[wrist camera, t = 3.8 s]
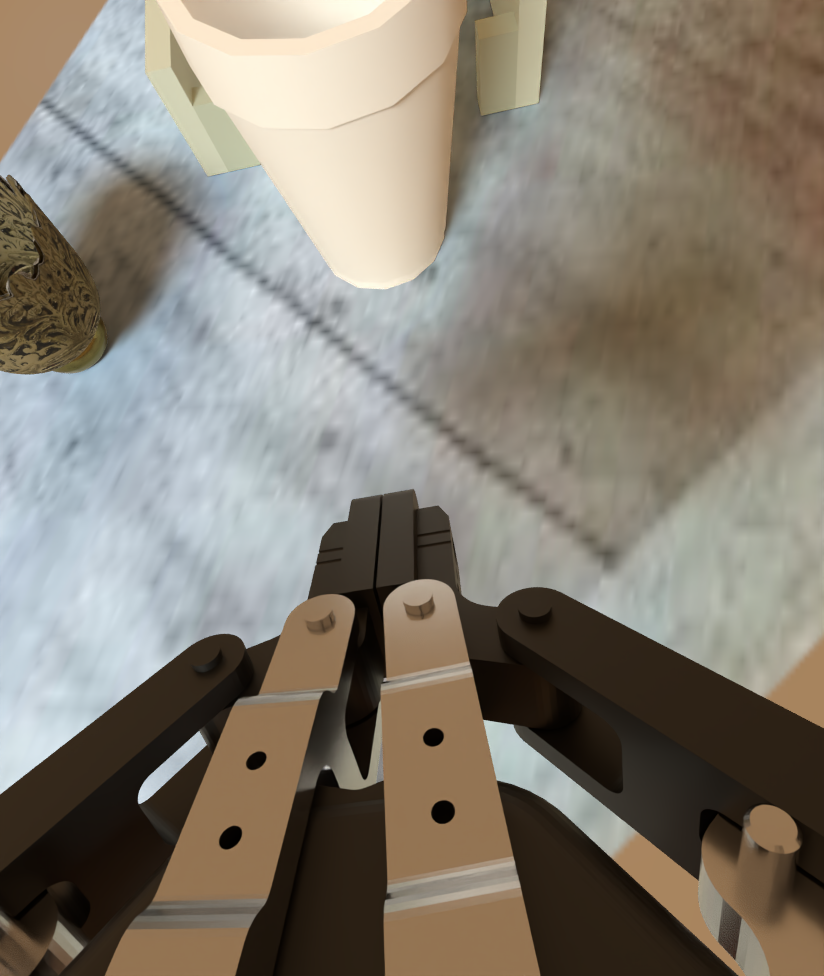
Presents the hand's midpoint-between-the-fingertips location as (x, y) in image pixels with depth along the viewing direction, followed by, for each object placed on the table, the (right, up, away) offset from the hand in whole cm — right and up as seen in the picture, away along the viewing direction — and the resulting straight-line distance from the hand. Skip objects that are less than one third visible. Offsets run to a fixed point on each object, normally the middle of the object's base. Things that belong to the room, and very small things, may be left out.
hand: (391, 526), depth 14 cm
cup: (-16, +8, +16) cm, 25 cm away
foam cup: (-1, +14, +16) cm, 21 cm away
